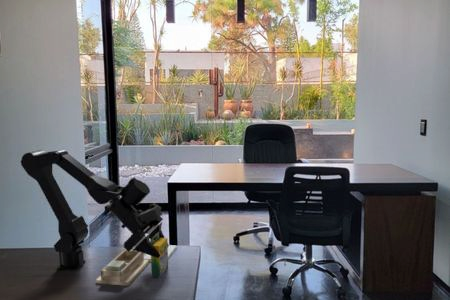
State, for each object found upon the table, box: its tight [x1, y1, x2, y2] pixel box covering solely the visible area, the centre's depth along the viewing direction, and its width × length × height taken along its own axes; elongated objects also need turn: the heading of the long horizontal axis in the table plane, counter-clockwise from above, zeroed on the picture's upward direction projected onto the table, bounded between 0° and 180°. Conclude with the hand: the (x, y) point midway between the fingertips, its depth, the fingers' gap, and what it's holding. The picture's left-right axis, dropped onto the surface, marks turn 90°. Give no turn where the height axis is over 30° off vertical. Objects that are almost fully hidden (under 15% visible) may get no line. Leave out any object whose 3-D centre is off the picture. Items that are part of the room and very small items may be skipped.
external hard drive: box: [144, 244, 178, 263], centre depth 139 cm, size 2×8×12 cm
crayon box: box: [149, 232, 169, 278], centre depth 125 cm, size 7×3×12 cm, turn 168°
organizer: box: [95, 249, 150, 287], centre depth 125 cm, size 10×16×5 cm, turn 169°
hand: (163, 251), depth 124 cm, fingers closed on crayon box, 7 cm apart
